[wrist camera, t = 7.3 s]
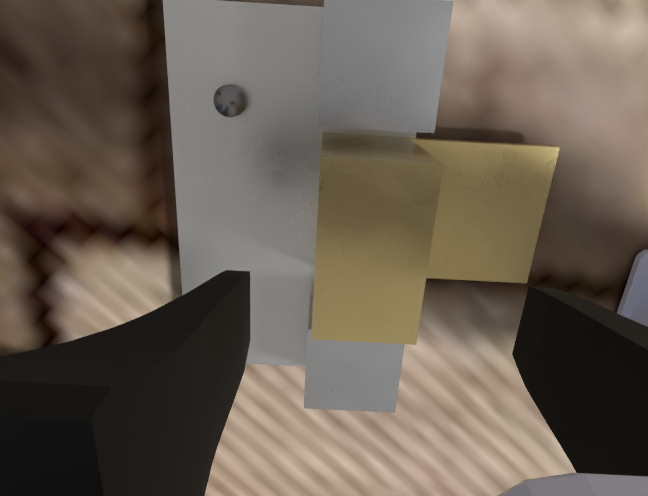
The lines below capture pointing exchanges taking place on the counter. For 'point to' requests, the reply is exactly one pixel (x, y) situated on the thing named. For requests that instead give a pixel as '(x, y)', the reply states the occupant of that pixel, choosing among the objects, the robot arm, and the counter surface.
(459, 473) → the counter surface
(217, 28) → the fixed leaf
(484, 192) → the pale gold block
